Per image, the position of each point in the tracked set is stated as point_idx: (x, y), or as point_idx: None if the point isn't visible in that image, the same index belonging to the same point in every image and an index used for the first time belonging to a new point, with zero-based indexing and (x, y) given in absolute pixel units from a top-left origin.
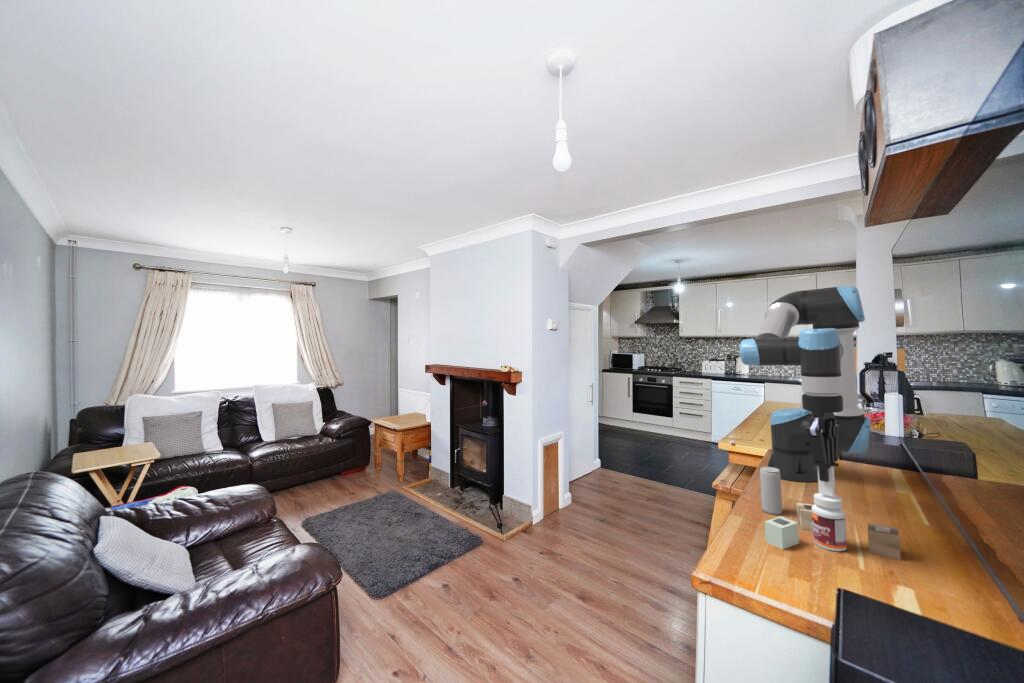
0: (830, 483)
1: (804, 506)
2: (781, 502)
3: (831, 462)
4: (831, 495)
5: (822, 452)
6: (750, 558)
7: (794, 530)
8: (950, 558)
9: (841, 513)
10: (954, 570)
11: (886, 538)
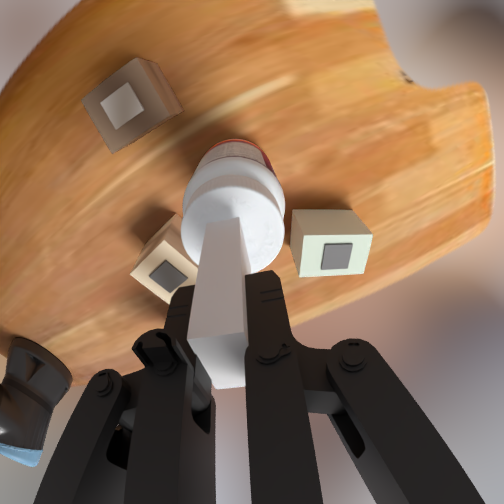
0: (241, 260)
1: (176, 287)
2: None
3: (191, 378)
4: (240, 223)
5: (450, 456)
6: (426, 219)
7: (316, 226)
8: (60, 50)
9: (234, 165)
10: (108, 11)
11: (153, 80)
